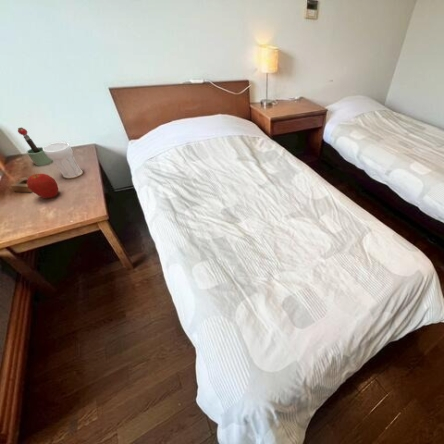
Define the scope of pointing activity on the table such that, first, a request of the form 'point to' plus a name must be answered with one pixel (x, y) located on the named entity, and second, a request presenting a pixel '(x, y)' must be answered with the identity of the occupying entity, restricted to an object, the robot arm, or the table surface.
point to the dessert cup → (39, 157)
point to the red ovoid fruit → (43, 185)
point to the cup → (63, 159)
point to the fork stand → (21, 185)
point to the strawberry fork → (28, 139)
